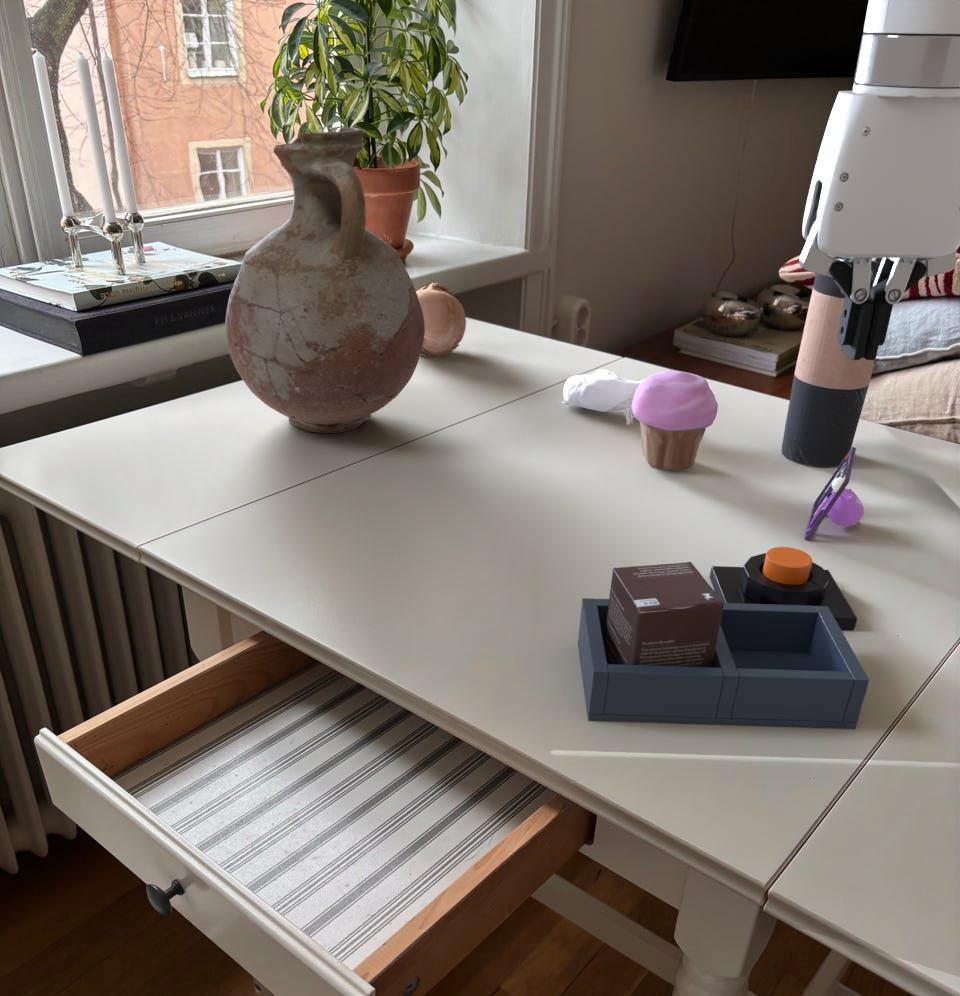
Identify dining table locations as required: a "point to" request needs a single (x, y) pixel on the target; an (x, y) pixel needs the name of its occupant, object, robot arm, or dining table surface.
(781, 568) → the button
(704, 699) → the holder
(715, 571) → the push button base
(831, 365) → the travel mug
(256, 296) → the jug
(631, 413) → the bird figurine
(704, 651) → the box
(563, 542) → the dining table surface
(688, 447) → the cupcake
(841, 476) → the purple framed ornament
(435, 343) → the onion
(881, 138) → the robot arm
